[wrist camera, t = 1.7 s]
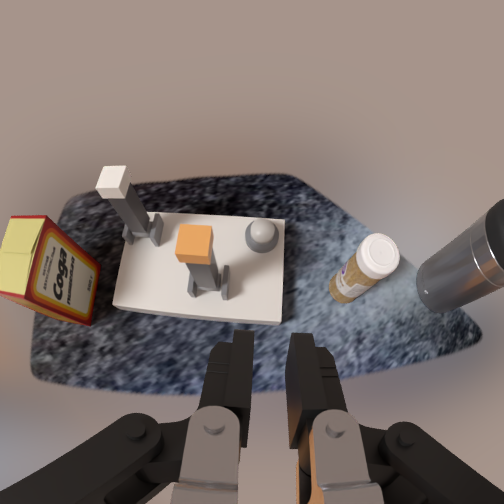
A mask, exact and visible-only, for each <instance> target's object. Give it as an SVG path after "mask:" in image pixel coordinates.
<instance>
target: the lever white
mask: <svg viewBox="0 0 504 504" xmlns="http://www.w3.org/2000/svg"><path fill="white" fill-rule="evenodd" d="M131 178H132V176H131V174H130V172H129V170H128V168H127V166H104V167H103V170H102V172H101V175H100V178H99V180H98V183H97V186H96V189H97V191H98V192H99V194H100V195H101V197H102V198H108V200H109V201H110V203H111V204H112V206H113V207H114V209H115V210H116V211H117V213H118V214H119V216H120V217H121V218H122V220H123V221H124V223H125V224H126V225H127V227H128V228H129V229H130V231H131V232H132V235H133V236H134V237H147V238H149V237H150V233H151V228H152V224H153V221H149V220H150V217H149V215H148V214H147V212H146V210H145V208H144V206H143V205H142V203H141V201H140V199H139V197H138V196H137V194H136V192H135V190H134V188H133V186H132V184H131V182H130V181H131Z"/></svg>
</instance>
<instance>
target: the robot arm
mask: <svg viewBox="0 0 504 504" xmlns="http://www.w3.org/2000/svg"><path fill="white" fill-rule="evenodd" d="M502 287H504V199H502V200H500V201H499V202H497V203H496V204H495V205H494V206H493V207H492V208H491V209H490V210H489V211H487V212H486V213H485V214H484V215H483V216H482V217H480V218H479V219H478V220H477V221H476V222H475V223H474V224H472V225H471V226H470V227H469V228H468V229H466V230H465V231H464V232H463V233H461V234H460V235H459V236H458V237H457V238H455V239H454V240H453V241H451V242H450V243H449V244H448V245H446V246H445V247H444V248H442V249H441V250H440V251H438V252H437V253H436V254H434V255H433V256H432V257H431V258H429V259H428V260H426V261H425V262H424V263H423V264H422V265H421V267H420V268H419V271H418V273H417V289H418V293H419V296H420V298H421V300H422V301H423V303H424V304H425V305H426V306H427V307H428V308H429V309H430V310H432V311H434V312H436V313H446V312H449V311H451V310H454V309H456V308H458V307H461V306H463V305H465V304H468V303H470V302H472V301H475V300H477V299H479V298H481V297H483V296H486V295H488V294H490V293H492V292H494V291H496V290H498V289H500V288H502ZM253 351H254V331H253V330H239V329H234V336H233V343H228V342H218V343H217V344H216V345H215V347H214V348H213V349H212V350H211V353H210V357H209V363H208V366H207V372H206V375H205V380H204V384H203V389H202V394H201V398H200V403H199V406H198V409H197V411H196V412H195V413H194V414H193V415H192V416H190V417H189V418H187V419H185V420H182V421H178V422H171V423H161V424H158V423H157V421H156V420H155V419H153V418H152V417H150V416H148V415H145V414H142V413H132V414H127V415H125V416H123V417H121V418H120V419H118V420H117V421H115V422H114V423H112V424H111V425H109V426H108V427H106V428H105V429H103V430H102V431H100V432H99V433H97V434H96V435H94V436H93V437H91V438H90V439H88V440H86V441H85V442H84V443H82V444H80V445H79V446H77V447H76V448H74V449H73V450H71V451H69V452H68V453H66V454H64V455H63V456H61V457H59V458H58V459H56V460H55V461H53V462H51V463H50V464H48V465H46V466H45V467H43V468H41V469H40V470H38V471H36V472H34V473H33V474H31V475H29V476H27V477H26V478H24V479H22V480H20V481H19V482H17V483H15V484H13V485H11V486H10V487H8V488H6V489H4V490H2V491H0V504H145V503H147V502H148V501H149V500H151V499H152V498H153V497H154V496H156V495H157V494H158V493H159V492H160V491H162V490H163V489H164V488H165V487H166V486H168V485H169V484H170V483H171V482H175V484H174V488H173V492H172V497H171V503H170V504H238V465H239V461H240V450H241V447H243V448H246V447H247V439H248V430H249V429H248V428H249V420H250V410H251V392H252V372H253ZM285 383H286V395H287V412H288V429H289V446H290V449H298V455H299V459H298V462H297V464H296V504H504V492H503V491H502V490H500V489H499V488H498V487H496V486H495V485H493V484H492V483H491V482H489V481H488V480H487V479H485V478H484V477H483V476H481V475H480V474H479V473H477V472H476V471H475V470H473V469H472V468H471V467H470V466H468V465H467V464H466V463H464V462H463V461H462V460H460V459H459V458H458V457H457V456H455V455H454V454H452V453H451V452H450V451H449V450H447V449H446V448H445V447H444V446H442V445H441V444H440V443H438V442H437V441H436V440H435V439H434V438H432V437H431V436H430V435H428V434H427V433H426V432H424V431H423V430H422V429H421V428H420V427H418V426H417V425H415V424H413V423H410V422H398V423H395V424H393V425H392V426H390V427H389V428H388V430H381V429H375V428H369V427H365V426H363V425H360V424H359V423H358V422H357V420H356V419H355V418H354V417H353V416H352V415H351V414H349V413H348V411H347V408H346V403H345V400H344V395H343V392H342V387H341V384H340V380H339V378H338V372H337V369H336V364H335V361H334V357H333V356H332V354H331V353H330V352H329V351H328V350H327V349H326V347H315V343H314V338H313V334H312V333H292V334H291V338H290V344H289V350H288V355H287V361H286V368H285Z"/></svg>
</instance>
